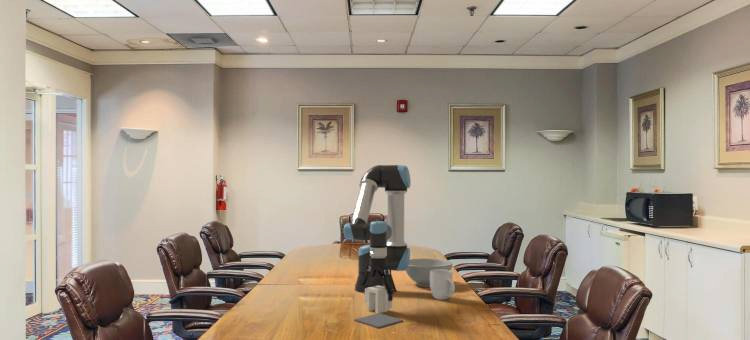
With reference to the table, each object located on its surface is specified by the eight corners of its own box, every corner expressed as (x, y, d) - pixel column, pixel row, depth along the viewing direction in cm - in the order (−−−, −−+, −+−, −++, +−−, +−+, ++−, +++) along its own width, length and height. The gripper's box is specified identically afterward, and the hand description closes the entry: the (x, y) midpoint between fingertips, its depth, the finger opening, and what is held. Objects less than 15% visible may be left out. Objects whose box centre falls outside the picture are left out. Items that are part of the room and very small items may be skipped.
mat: (354, 320, 209) (354, 319, 209) (379, 314, 218) (379, 313, 218) (377, 328, 199) (377, 326, 199) (402, 321, 208) (403, 320, 208)
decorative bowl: (394, 281, 286) (394, 260, 286) (436, 278, 297) (436, 257, 297) (417, 291, 261) (417, 268, 262) (462, 287, 272) (462, 264, 272)
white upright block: (366, 310, 225) (366, 287, 225) (378, 307, 230) (378, 285, 230) (377, 313, 220) (377, 290, 220) (389, 310, 225) (389, 287, 225)
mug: (462, 300, 243) (462, 273, 243) (445, 303, 237) (445, 275, 237) (442, 294, 256) (442, 268, 256) (424, 297, 250) (424, 270, 250)
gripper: (353, 254, 232) (353, 301, 231) (392, 261, 213) (392, 312, 213) (365, 252, 237) (365, 299, 236) (404, 259, 219) (404, 309, 218)
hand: (378, 305), depth 225 cm, fingers open, 13 cm apart
